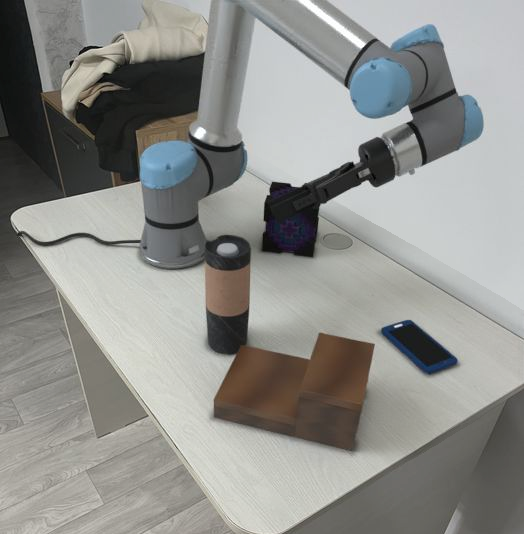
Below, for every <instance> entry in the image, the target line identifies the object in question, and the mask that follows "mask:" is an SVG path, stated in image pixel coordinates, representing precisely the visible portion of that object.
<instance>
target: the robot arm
mask: <svg viewBox="0 0 524 534" xmlns="http://www.w3.org/2000/svg"><path fill="white" fill-rule="evenodd" d="M256 20H258V21H259V22H260V23H262V24H263V25H265V26H266V27H267V28H268V29H270V30H271V31H272V32H273V33H275V35H277V36H279V37H280V39H281V38H282V40H284V41H285V42H286V43H288V44H289V45H290V46H292V47H293V48H294V49H295V50H297V51H298V52H299V53H301V54H302V55H303V56H304V57H306V58H307V59H308V60H310V61H311V62H312V63H314V64H315V65H316V66H318V67H319V68H320V69H322V71H324V72H325V73H327V74H328V75H329V76H330V77H331V78H333V80H336V81H337V82H338V83H340V84H341V85H342V86H343V87H344V88H346V89H347V90H348V91H349V97H350V100H351V102H352V104H353V107H354V109H355V110H356V111H357V113H359V115H361V116H363V117H364V118H367V119H372V120H373V119H374V120H375V119H376V120H379V119H381V118H385V117H388V116H392V115H395V114H397V113H399V112H400V111H401V110H402V109H404V108H406V107H408V110H409V112H410V115H411V117H412V119H411V120H410V121H407V122H404V123H401V124H400V125H397V126H395V127H393V128H391V129H389V130H387V131H385V132H383V133H382V134H381V137H380V136H376V137H374V138H372V139H369V140H367V141H365V142H363V143H360V145H359V146H358V149H357V152H358V157H359V161H358V162H356V163H354V161H347V162H345V163H343V164H342V165H340V166H339V167H337V168H335V169H333V170H331V171H329V173H326V174H325V175H322V176H320V177H318V178H315V179H313V180H310V181H308V182H305V183H303V184H302V185H301V186H297V187H298V188H296V189H294V190H292V191H290V192H288V193H286V194H284V195H282V196H280V197H278V198H275V199H273V200H271V201H269V202H267V203H268V205H269V207H270V209H271V212H272V214H273V216H275V218H276V220H277V222H278V223H280V222H282V221H284V220H286V219H289V218H291V217H293V216H295V215H297V214H299V213H301V212H303V211H306V210H308V209H310V208H312V207H314V206H315V204H316V205H320V204H321V205H322V204H323V205H324V204H327V203H328V202H329V201H332V200H333V199H335V198H337V197H338V196H340V195H342V194H344V193H347V192H348V191H350V190H351V189H353V188H354V189H355V188H357V187H359V186H361V185H362V184H363V183H364V182H367V181H368V182H369V184H370V185H371V186H372V187H374V188H379V187H381V186H384V185H386V184H388V183H390V182H392V181H394V180H395V178H396V177H400V178H401V177H402V176H404V175H406V174H409V175H410V176H412V175H415V173H416V172H415V169H419V168H422V167H423V166H426V165H428V164H430V163H432V162H434V161H438V160H439V159H441V158H443V157H446V156H449V155H450V154H452V153H454V152H458V151H459V150H460V149H462V148H464V147H465V146H468V145H469V144H471V143H473V142H475V141H477V140H478V139H479V138H480V137H481V135H482V134H483V131H484V125H485V121H484V115H483V111H482V108H481V107H480V106H479V104H478V101H477V99H476V98H475V97H474V96H472V95H471V94H463V95H459V93H458V92H457V88H456V85H455V82H454V78H453V75H452V71H451V69H450V64H449V62H448V58H447V54H446V52H445V45H444V42H443V41H442V39H441V36H440V34H439V32H438V28H437V27H436V26H435V25H434V24H432V23H428V24H425V25H423V26H420V27H418V28H416V29H414V30H412V31H410V32H408V33H406V34H404V35H403V36H401V37H399V38H397V39H396V40H394V41H393V42H392V43H391V45H390V47H389V46H388V45H387V44H385V43H384V42H382V41H381V40H380V39H379V38H377V36H375V35H373V34H372V33H371V32H370V31H368V30H367V29H365V28H364V27H363V26H362V25H360V24H359V23H358V22H356V21H355V20H353V18H351V17H350V16H349V15H347V14H345V12H343V11H341V10H340V9H339V8H337V7H336V6H335V5H334V4H333V3H331V1H329V0H210V5H209V15H208V21H207V22H208V23H207V31H206V32H207V33H206V41H205V50H204V58H203V65H202V67H203V68H202V75H201V83H200V92H199V100H198V101H199V102H198V108H197V109H198V110H197V118H196V120H194V121H192V122H191V123H190V124H189V127H188V134H187V135H188V136H187V141H184V140H175V139H174V140H168V141H159V142H157V143H154V144H152V145H150V146H149V147H147V148H146V149H145V150H143V152H142V153H141V154H140V158H139V174H138V175H139V180H140V186H141V195H142V204H143V213H144V226H143V230H142V234H141V239H124V240H123V239H122V240H113V241H111V240H104V239H100V238H99V237H98V236H95V234H92V233H89V232H75V233H71V234H67V235H64V236H62V237H60V238H57V239H54V240H50V241H42V240H41V241H40V240H37V239H35V238H34V237H32V236H31V235H30V234H29V233H28V232H26V231H24V230H20V231H18V232H17V233H16V236H17V237H20V236H21V235H23V236H24V237H26V238H27V239H29V241H31V242H33V243H34V244H36V245H39V246H40V245H41V246H49V245H55V244H58V243H61V242H65V241H66V240H68V239H72V238H75V237H89V238H91V239H93V240H94V241H96V242H98V243H100V244H103V245H109V246H111V245H122V244H139V252H140V253H139V254H140V257H141V259H142V260H143V261H144V262H145V263H147V264H148V265H151V266H153V267H156V268H160V269H165V270H166V269H167V270H169V269H170V270H178V269H185V268H189V267H193V266H195V265H197V264H199V263H202V261H204V260H205V243H206V242H207V241H208V240H207V238H206V235H205V233H204V230H203V227H202V224H201V222H200V217H199V216H200V214H199V202H200V201H201V200H203V199H205V198H207V197H209V196H211V195H214V194H216V193H218V192H220V191H222V190H224V189H227V188H229V187H231V186H232V185H234V184H235V183H236V182H238V181H239V180H240V179H241V178H242V177H243V175H244V174H245V171H246V169H247V165H248V151H247V149H245V146H246V145H245V142H244V141H243V133H242V132H241V131H240V129H239V128H238V124H239V119H240V112H241V107H242V100H243V93H244V88H245V82H246V77H247V72H248V65H249V59H250V53H251V48H252V47H251V46H252V42H253V36H254V30H255V24H256ZM321 205H320V206H321Z"/></svg>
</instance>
